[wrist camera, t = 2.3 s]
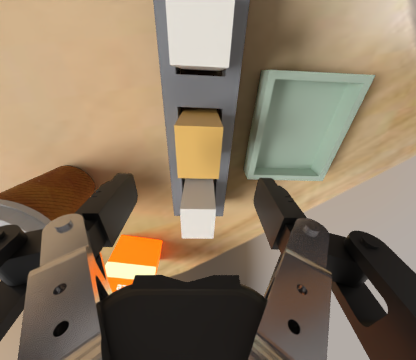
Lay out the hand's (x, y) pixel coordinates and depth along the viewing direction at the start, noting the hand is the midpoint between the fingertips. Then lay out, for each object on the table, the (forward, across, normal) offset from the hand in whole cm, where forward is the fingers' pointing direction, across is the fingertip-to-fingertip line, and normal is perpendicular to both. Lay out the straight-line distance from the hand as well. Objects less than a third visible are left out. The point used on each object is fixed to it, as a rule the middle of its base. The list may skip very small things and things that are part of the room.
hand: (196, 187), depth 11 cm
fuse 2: (+15, 0, +9) cm, 17 cm away
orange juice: (+15, +13, +28) cm, 34 cm away
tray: (+15, -13, 0) cm, 20 cm away
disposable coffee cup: (+15, +21, +10) cm, 28 cm away
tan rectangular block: (+15, 0, 0) cm, 15 cm away
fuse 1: (+15, 0, -9) cm, 17 cm away
